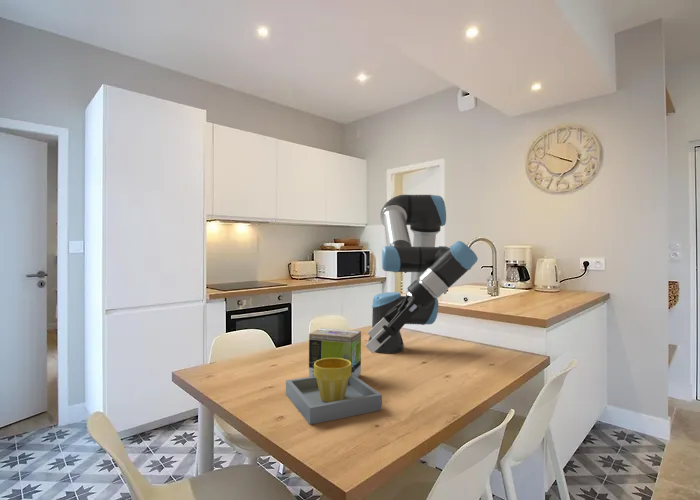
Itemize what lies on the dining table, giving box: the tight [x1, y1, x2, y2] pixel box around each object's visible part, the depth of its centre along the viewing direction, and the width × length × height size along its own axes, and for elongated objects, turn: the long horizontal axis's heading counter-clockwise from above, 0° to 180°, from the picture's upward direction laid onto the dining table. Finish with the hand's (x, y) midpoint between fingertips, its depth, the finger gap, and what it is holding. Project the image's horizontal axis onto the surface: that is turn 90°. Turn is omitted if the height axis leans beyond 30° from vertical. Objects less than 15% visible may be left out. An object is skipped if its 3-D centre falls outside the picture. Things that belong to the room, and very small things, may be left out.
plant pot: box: [314, 358, 352, 402], centre depth 103 cm, size 10×10×10 cm
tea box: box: [308, 327, 362, 378], centre depth 123 cm, size 15×10×15 cm, turn 71°
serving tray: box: [285, 373, 383, 426], centre depth 103 cm, size 20×20×4 cm
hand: (369, 342), depth 102 cm, fingers open, 13 cm apart
